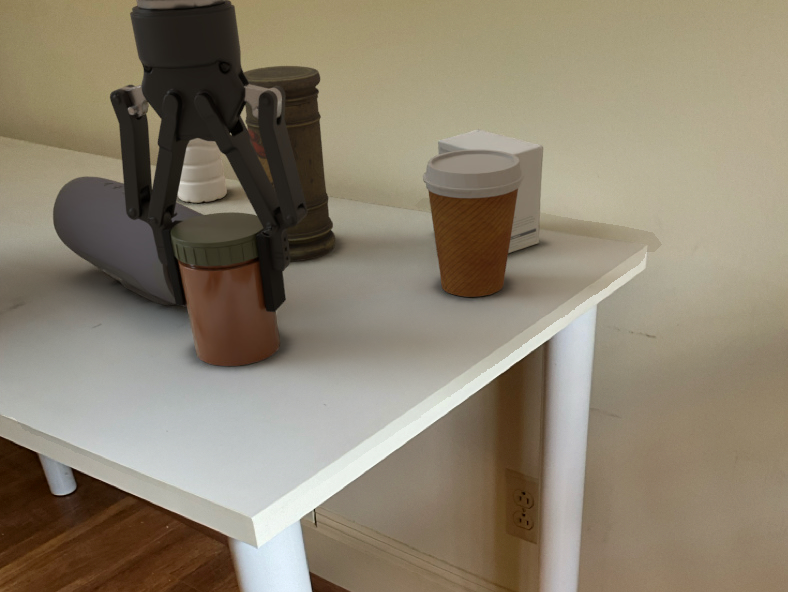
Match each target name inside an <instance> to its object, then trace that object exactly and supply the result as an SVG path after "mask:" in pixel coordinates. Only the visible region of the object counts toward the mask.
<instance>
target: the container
mask: <svg viewBox="0 0 788 592" xmlns="http://www.w3.org/2000/svg"><path fill="white" fill-rule="evenodd" d="M243 72H244V74H245V76H246V78H247V79H248V81H249V84H250V85H255V86H259V87H264V88H268V89H270V88H273V87H274V86H280V87H282V88H283V89H284V91H285V95H286V98H285V118H284V120H285V124H286V127H287V131H288V135H289V139H290V143H291V147H292V151H293V155H294V159H295V163H296V167H297V171H298V174H299V178H300V182H301V186H302V190H303V194H304V198H305V202H306V206H307V210H308V213H307V215H306V216H305V217H304V218H303V219H302V220H301V221H300V222H299V223H298V224H297V225H296V226H294V227H289V228H288V229H287V233H288V242H289V250H290V258H291V260H290V262H295V261H297V262H298V261H305V260H311V259H316V258H320V257H322V256H324V255H326V254H328V253H330V252H331V251H332V250H333V249H334V248H335V245H336V235H335V233H334V232H333V230H332V229H333V228H334V223H333V221H332V219H331V217H330V209H329V196H328V193H327V187H326V178H325V167H324V166H325V165H324V154H323V143H322V132H321V119H322V118H321V113H320V111H319V101H318V98H319V93H320V90H319V89H318V88H317V86H318V85H319V84H320V83H321V74H320V71H318V69H316V68H314V67H309V66H301V65H277V66H276V65H275V66H266V67H258V68H253V69H250V70H249V69H248V70H246V71H243ZM244 108H245V114H246V115H245V121H244V123H245V125H246V128H247V130H248V132H249V134H250V142H251V144H252V146H253V148H254V150H255V152H256V154H257V156H258V158H259V160H260V162H261V164H262V166H263V168H264V170H265V172H266V174H267V176H268V178H269V180H270V182H271V184H272V186H273V188H274V190H275V187H274V184H273V180H272V176H271V173H270V169H269V165H268V162H267V158H266V154H265V151H264V147H263V143H262V140H261V136H260V131H259V125H258V119H257V118H256V117H254V116H253V114H252V108H251V105H250V104H249V103H248V102H246V104H245V107H244ZM275 192H276V191H275Z"/></svg>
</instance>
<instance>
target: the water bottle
mask: <svg viewBox="0 0 788 592" xmlns="http://www.w3.org/2000/svg"><path fill="white" fill-rule="evenodd" d="M226 182H227V181H226V176H225V174H224V163H223V160H222V152H221V151H220V150H219V148H218V146H217V144H216V142H215V141H205V140H202V139H199V138H196V139H193V140H190V142H189V143H188V145H187V148H186V153H185V158H184V164H183V169H182V174H181V179H180V185H179V190H178V195H177V198H178V199H180V201H183V202H185V203H189V202H190V203H194V204H197V203H200V204H201V203H203V202H205V203H208V202H213V201H216V200H220V199H222V198H224V197H225V196H227V193H228V189H227V183H226Z"/></svg>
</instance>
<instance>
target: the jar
mask: <svg viewBox="0 0 788 592" xmlns="http://www.w3.org/2000/svg"><path fill="white" fill-rule="evenodd" d="M178 264H179V269H180V274H181V279H182V284H183V289H184V294H185V299H186V305H187V307H186V310H187V315H188V319H189V324H190V329H191V335H192V339H193V344H194V350H195V354H196V357H197V358H198V359H199V360H201V361H202V362H204V363H206V364H209V365H213V366H219V367H220V366H221V367H239V366H246V365H250V364H255V363H258V362H261V361H264V360H266V359H268V358H270V357H272V356H273V355H274V354H276V353H277V351H278V350H279V349H280V347H281V338H280V331H279V330H280V329H279V323H278V322H279V321H278V316H277V315H278V314H277V310H276V311H275V312H267V311H266V304H265V297H264V290H263V283H262V276H261V269H260V262H259V256H258V257H256V258H254V259H251V260H248V261H245V262H241V263H236V264H230V265H222V266H197V265H191V264H187V263H184V262H181V261H179V260H178Z"/></svg>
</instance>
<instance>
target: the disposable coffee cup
mask: <svg viewBox="0 0 788 592" xmlns="http://www.w3.org/2000/svg"><path fill="white" fill-rule="evenodd" d="M426 164H427V165H426V169H425V172H424V173H423V175H422V180H423V182H424V184H425V188H426V190H427V191H428V199H429V206H430V213H431V220H432V226H433V235H434V240H435V241H434V242H435V248H436V256H437V263H438V269H439V276H440V284H441V289H442V290H443V291H445V292H446V293H447V294H451V295H454V296H458V297H466V298H467V297H468V298H469V297H471V298H473V297H484V296H490V295H493V294H495V293H497V292H499V291H501V290H502V289H503V287H504V285H505V276H506V269H507V266H508V265H507V264H508V258H509V253H508V252H509V245H510V239H511V232H512V226H513V219H514V213H515V206H516V200H517V193H518V188H519V187H520V185H521V181H522V180H523V178H524V172H523V171H522V170H521V168H520V162H519V158H518V157H517V156H515V155H513V154H510V153H507V152H502V151H496V150H460V151H452V152H447V153H443V154H439V153H438V154H436V155H433V156H432V157H430V158H429V160H428V161H427V163H426Z"/></svg>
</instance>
